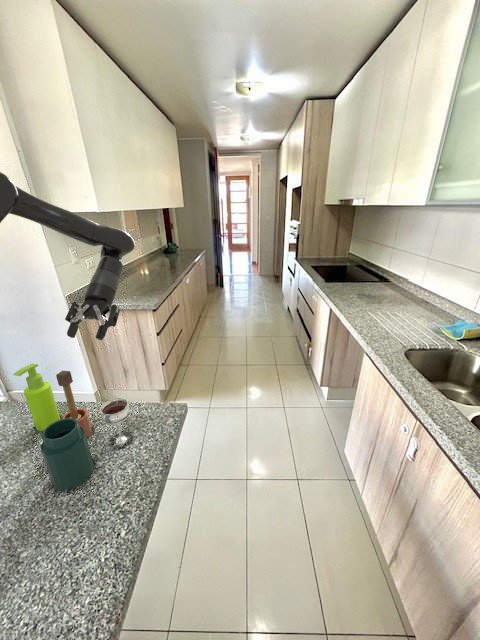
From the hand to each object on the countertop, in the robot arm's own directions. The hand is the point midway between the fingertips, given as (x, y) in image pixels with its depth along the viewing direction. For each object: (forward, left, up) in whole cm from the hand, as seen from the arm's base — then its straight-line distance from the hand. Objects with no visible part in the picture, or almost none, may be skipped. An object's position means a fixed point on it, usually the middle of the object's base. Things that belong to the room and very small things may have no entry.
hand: (84, 338), depth 72 cm
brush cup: (0, -10, -26) cm, 28 cm away
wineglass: (+13, -10, -26) cm, 30 cm away
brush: (0, -10, -25) cm, 27 cm away
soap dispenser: (-12, -8, -26) cm, 30 cm away
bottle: (+7, -21, -26) cm, 34 cm away
